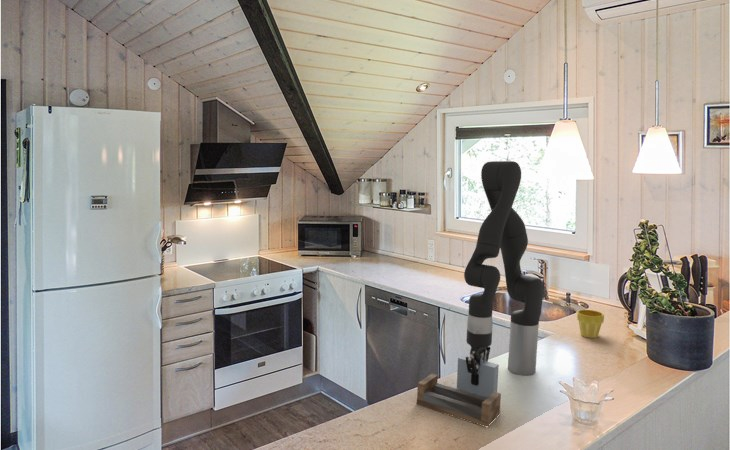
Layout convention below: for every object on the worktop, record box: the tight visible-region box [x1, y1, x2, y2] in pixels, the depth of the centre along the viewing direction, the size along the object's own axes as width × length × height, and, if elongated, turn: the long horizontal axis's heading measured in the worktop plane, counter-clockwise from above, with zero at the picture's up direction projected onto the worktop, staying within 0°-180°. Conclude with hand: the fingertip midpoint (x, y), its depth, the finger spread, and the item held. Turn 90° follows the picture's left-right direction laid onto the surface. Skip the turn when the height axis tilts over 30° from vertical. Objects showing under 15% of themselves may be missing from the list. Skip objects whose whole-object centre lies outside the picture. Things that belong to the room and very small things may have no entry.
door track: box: [416, 373, 502, 427], centre depth 150 cm, size 9×22×6 cm, turn 54°
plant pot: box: [576, 309, 605, 339], centre depth 217 cm, size 10×10×10 cm
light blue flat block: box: [456, 354, 500, 398], centre depth 161 cm, size 3×12×10 cm, turn 54°
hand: (476, 382), depth 161 cm, fingers closed on light blue flat block, 3 cm apart
